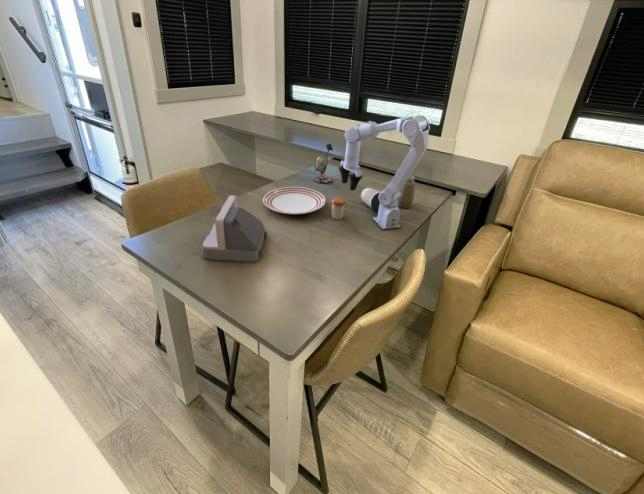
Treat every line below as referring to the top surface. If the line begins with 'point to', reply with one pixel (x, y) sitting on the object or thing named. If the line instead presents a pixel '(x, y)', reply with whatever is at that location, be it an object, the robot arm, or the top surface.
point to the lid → (338, 201)
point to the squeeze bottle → (407, 193)
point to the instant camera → (234, 234)
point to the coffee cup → (371, 198)
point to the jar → (337, 212)
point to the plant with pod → (322, 166)
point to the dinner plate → (294, 200)
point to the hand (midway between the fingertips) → (348, 186)
